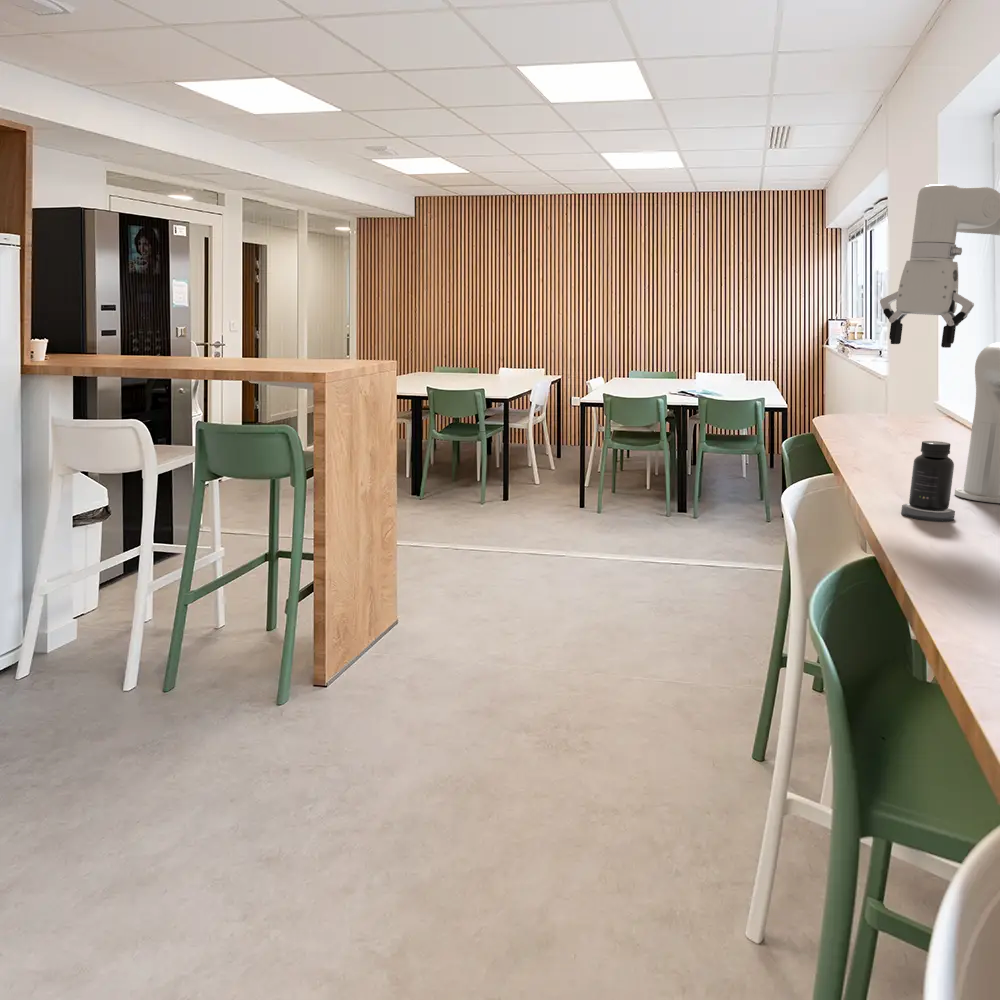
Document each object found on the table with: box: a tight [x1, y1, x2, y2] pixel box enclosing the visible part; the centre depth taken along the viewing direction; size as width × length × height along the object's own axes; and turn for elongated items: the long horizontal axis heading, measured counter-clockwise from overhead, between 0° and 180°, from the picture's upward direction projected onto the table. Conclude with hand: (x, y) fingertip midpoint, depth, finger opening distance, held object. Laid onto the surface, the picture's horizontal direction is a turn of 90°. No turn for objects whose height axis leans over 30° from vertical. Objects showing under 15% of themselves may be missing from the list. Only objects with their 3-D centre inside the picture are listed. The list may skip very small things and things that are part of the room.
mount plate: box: [900, 503, 956, 523], centre depth 186 cm, size 9×9×2 cm
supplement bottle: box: [908, 440, 955, 511], centre depth 184 cm, size 7×7×12 cm
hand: (920, 345), depth 194 cm, fingers open, 9 cm apart
